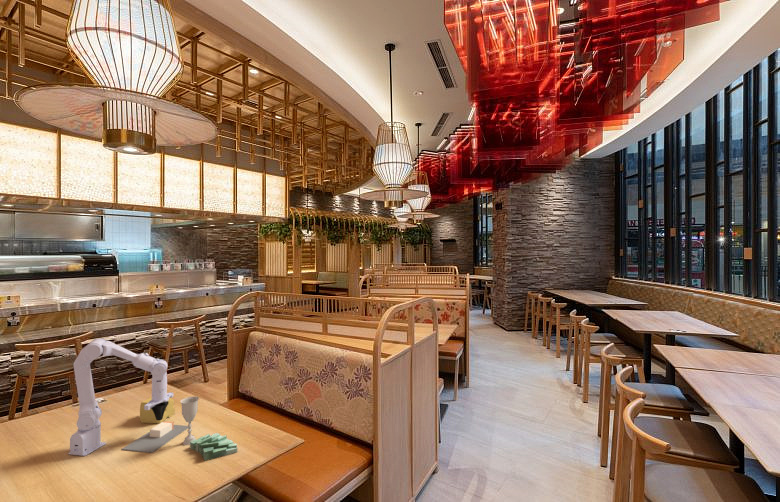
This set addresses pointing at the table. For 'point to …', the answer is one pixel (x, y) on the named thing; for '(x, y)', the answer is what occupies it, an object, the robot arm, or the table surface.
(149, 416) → the cheese
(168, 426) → the cream block
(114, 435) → the table surface
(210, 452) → the money
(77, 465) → the table surface
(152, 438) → the slate mat
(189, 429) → the chalice
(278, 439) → the table surface
